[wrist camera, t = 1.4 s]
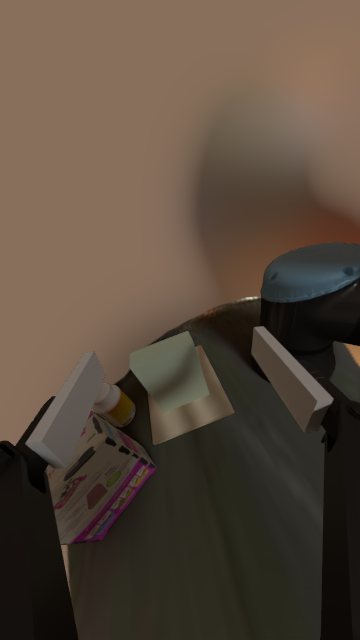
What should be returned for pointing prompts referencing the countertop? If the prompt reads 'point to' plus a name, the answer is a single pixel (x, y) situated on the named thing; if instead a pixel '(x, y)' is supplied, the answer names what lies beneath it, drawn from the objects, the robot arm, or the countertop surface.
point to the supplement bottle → (114, 405)
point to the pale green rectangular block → (170, 371)
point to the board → (191, 408)
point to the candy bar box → (97, 481)
